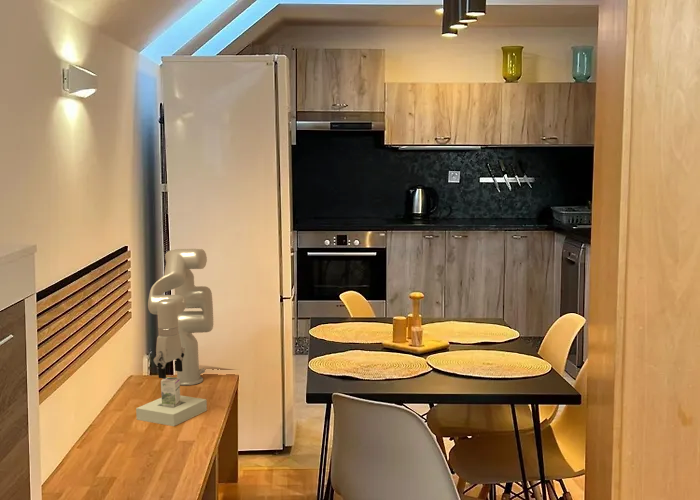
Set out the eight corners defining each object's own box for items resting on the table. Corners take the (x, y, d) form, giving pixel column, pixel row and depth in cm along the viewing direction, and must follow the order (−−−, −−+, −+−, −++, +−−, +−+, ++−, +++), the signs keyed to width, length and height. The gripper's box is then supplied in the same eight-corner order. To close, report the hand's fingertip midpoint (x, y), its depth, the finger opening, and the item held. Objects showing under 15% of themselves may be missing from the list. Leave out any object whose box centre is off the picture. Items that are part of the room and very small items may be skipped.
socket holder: (170, 404, 328) (170, 393, 327) (206, 410, 320) (206, 399, 319) (136, 419, 310) (136, 408, 310) (173, 426, 302) (173, 414, 302)
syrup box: (181, 412, 318) (179, 376, 316) (176, 417, 312) (174, 381, 310) (167, 412, 318) (165, 376, 317) (162, 417, 313) (160, 380, 311)
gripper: (175, 325, 320) (177, 367, 323) (145, 335, 305) (148, 379, 308) (190, 327, 317) (192, 369, 320) (161, 337, 302) (163, 382, 304)
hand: (170, 374), depth 314 cm, fingers open, 9 cm apart
